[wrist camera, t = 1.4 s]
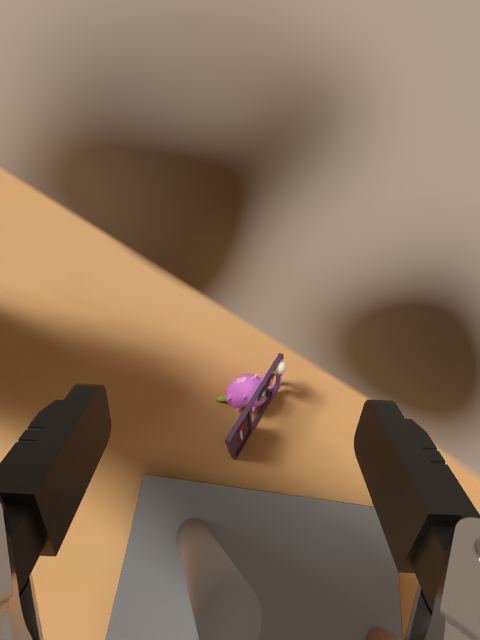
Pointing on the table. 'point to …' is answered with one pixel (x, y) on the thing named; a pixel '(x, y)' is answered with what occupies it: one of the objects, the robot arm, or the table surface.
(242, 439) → the purple decorated picture frame
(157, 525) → the board
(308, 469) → the table surface
